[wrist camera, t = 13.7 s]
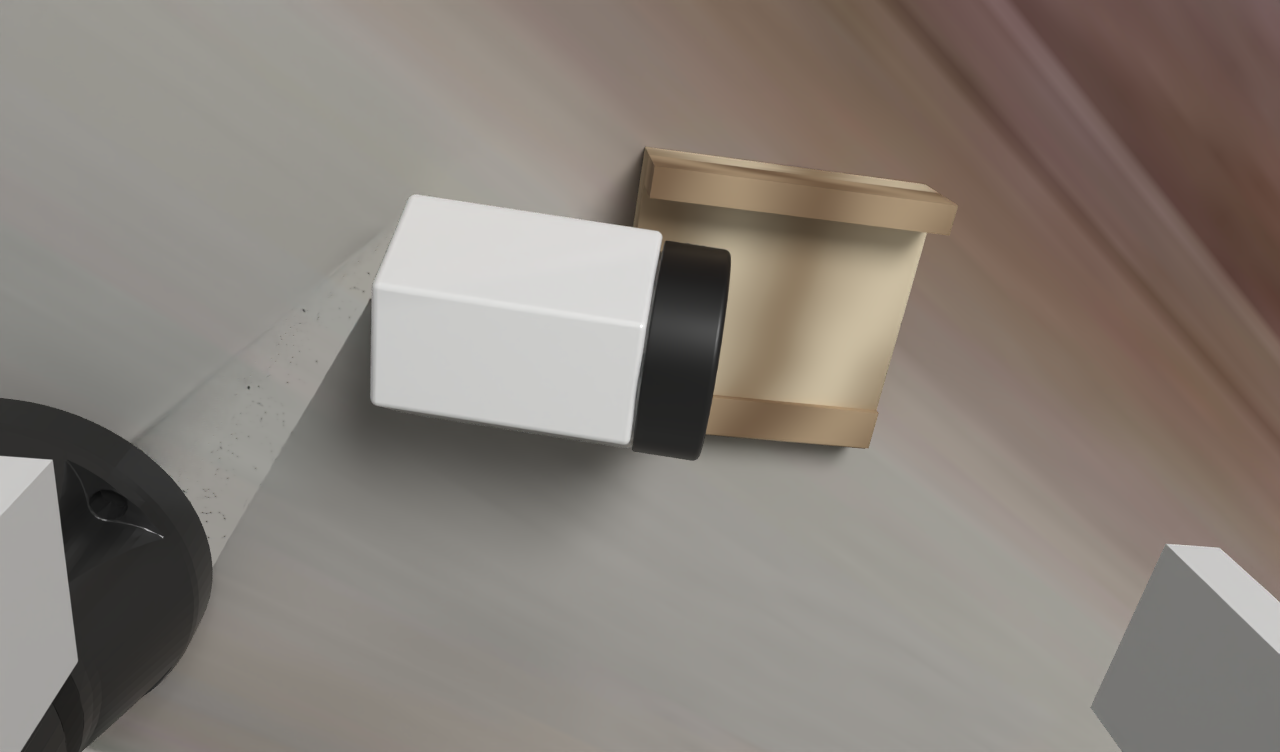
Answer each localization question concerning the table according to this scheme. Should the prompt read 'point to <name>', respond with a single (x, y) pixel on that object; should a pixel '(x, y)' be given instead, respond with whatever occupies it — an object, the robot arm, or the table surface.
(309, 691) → the table surface
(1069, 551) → the table surface
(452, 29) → the table surface
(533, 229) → the jar
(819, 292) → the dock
